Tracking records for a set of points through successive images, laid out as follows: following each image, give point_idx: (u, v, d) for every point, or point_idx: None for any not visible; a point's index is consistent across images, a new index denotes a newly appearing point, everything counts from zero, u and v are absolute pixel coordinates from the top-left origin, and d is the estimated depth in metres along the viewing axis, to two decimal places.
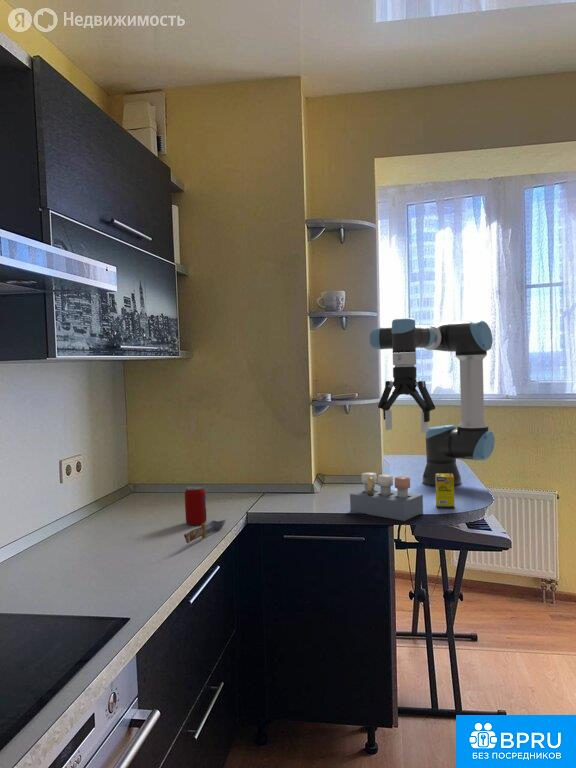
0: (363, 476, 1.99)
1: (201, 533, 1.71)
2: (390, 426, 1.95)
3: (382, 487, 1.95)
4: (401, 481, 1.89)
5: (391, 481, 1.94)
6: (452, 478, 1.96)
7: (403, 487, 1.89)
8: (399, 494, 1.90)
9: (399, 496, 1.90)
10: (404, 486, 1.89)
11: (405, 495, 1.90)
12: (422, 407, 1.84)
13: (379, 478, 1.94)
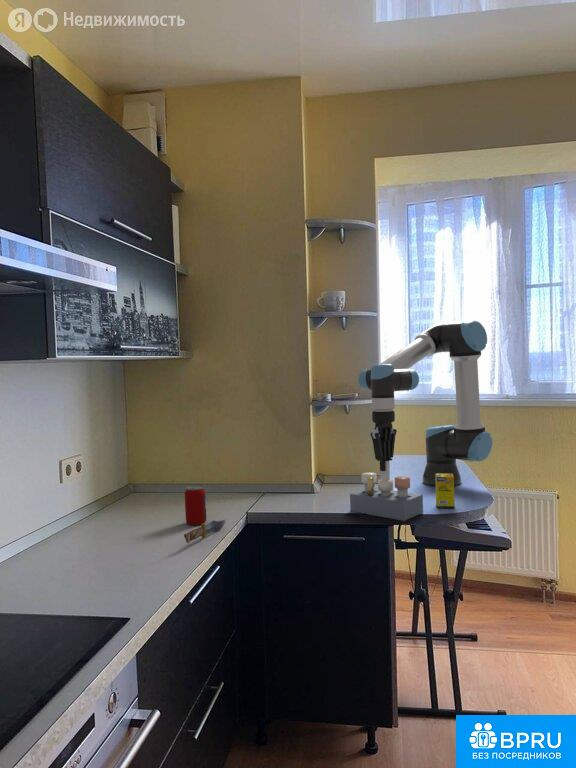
0: (363, 476, 1.99)
1: (201, 533, 1.71)
2: None
3: (382, 492, 1.95)
4: (401, 481, 1.89)
5: (391, 486, 1.94)
6: (452, 478, 1.96)
7: (403, 487, 1.89)
8: (399, 494, 1.90)
9: (399, 496, 1.90)
10: (404, 486, 1.89)
11: (405, 495, 1.90)
12: None
13: (379, 483, 1.95)
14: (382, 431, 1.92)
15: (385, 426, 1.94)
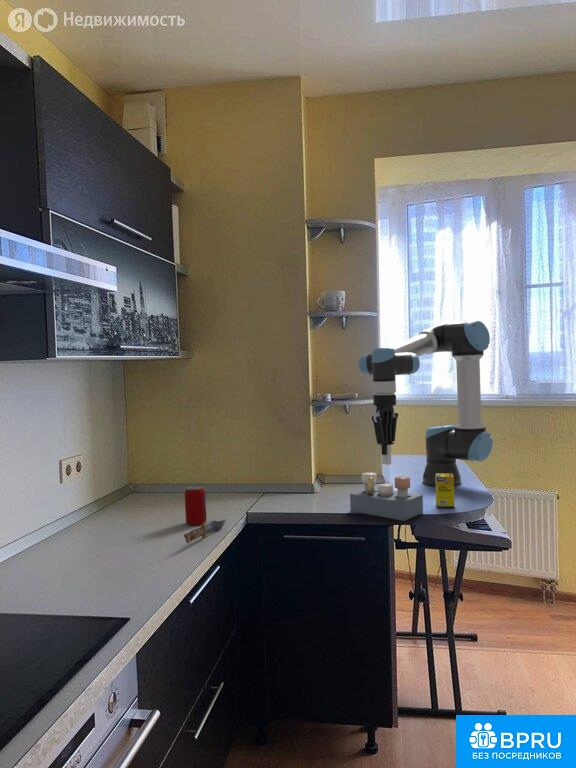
0: (363, 476, 1.99)
1: (201, 533, 1.71)
2: None
3: None
4: (401, 481, 1.89)
5: (391, 490, 1.94)
6: (452, 478, 1.96)
7: (403, 487, 1.89)
8: (399, 494, 1.90)
9: (399, 496, 1.90)
10: (404, 486, 1.89)
11: (405, 495, 1.90)
12: None
13: (379, 487, 1.95)
14: (383, 415, 1.91)
15: (386, 410, 1.93)
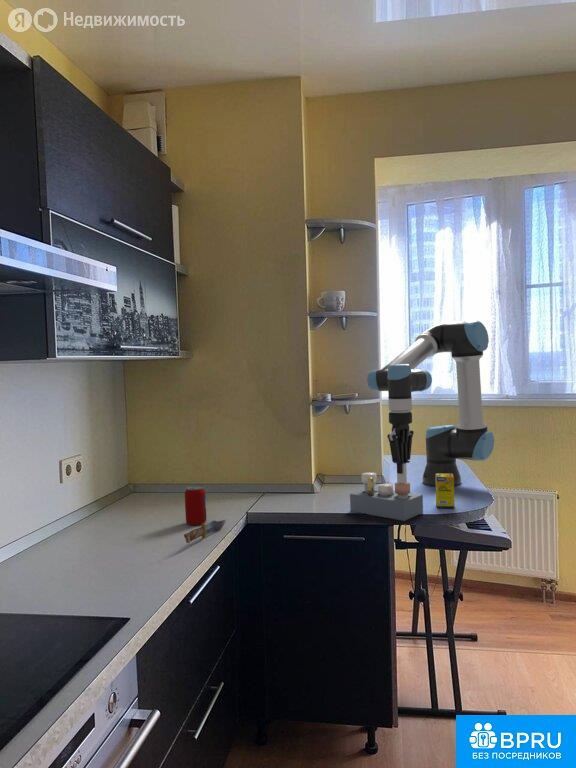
0: (363, 476, 1.99)
1: (201, 533, 1.71)
2: None
3: None
4: (401, 486, 1.89)
5: (391, 490, 1.94)
6: (452, 478, 1.96)
7: (403, 492, 1.89)
8: None
9: None
10: (404, 492, 1.89)
11: None
12: None
13: (379, 487, 1.95)
14: (399, 433, 1.88)
15: (402, 428, 1.89)
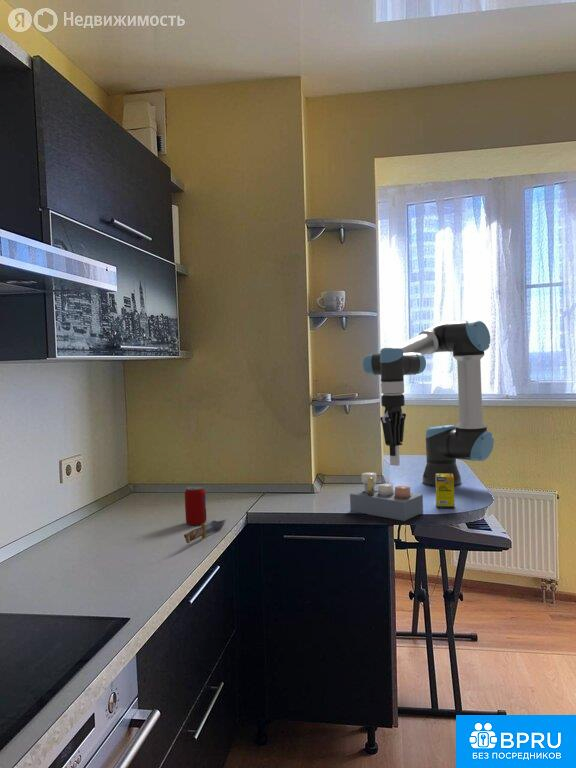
0: (363, 476, 1.99)
1: (201, 533, 1.71)
2: None
3: None
4: (401, 491, 1.89)
5: (391, 490, 1.94)
6: (452, 478, 1.96)
7: (403, 497, 1.89)
8: None
9: None
10: (404, 496, 1.89)
11: None
12: None
13: (379, 487, 1.95)
14: (392, 415, 1.89)
15: (395, 410, 1.91)
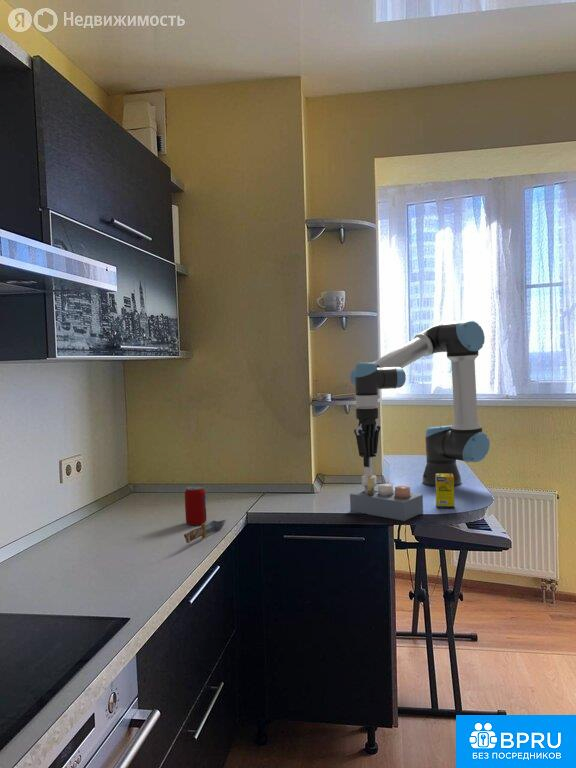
0: (363, 478, 1.99)
1: (201, 533, 1.71)
2: None
3: None
4: (401, 491, 1.89)
5: (391, 490, 1.94)
6: (452, 478, 1.96)
7: (403, 497, 1.89)
8: None
9: None
10: (404, 496, 1.89)
11: None
12: None
13: (379, 487, 1.95)
14: (366, 428, 1.97)
15: (369, 423, 1.98)
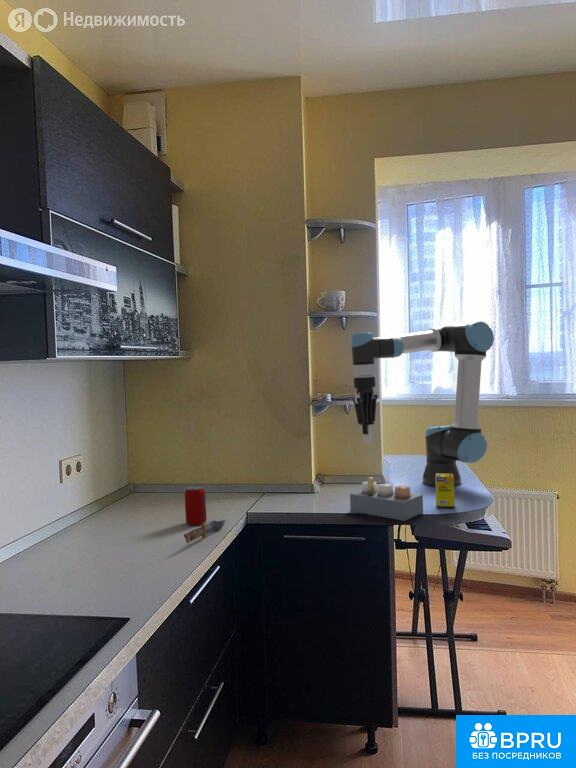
0: (363, 485, 1.99)
1: (201, 533, 1.71)
2: None
3: None
4: (401, 491, 1.89)
5: (391, 490, 1.94)
6: (452, 478, 1.96)
7: (403, 497, 1.89)
8: None
9: None
10: (404, 496, 1.89)
11: None
12: None
13: (379, 487, 1.95)
14: (364, 396, 2.02)
15: (366, 391, 2.03)
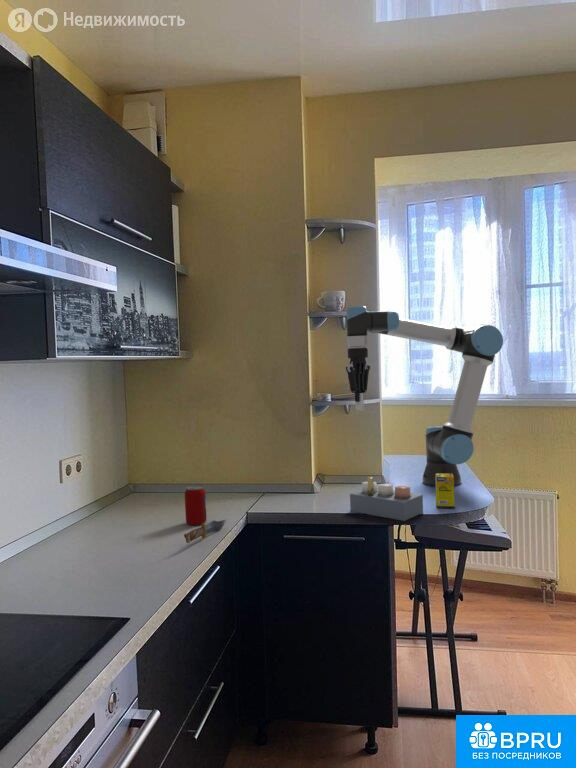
0: (363, 485, 1.99)
1: (201, 533, 1.71)
2: None
3: None
4: (401, 491, 1.89)
5: (391, 490, 1.94)
6: (452, 478, 1.96)
7: (403, 497, 1.89)
8: None
9: None
10: (404, 496, 1.89)
11: None
12: None
13: (379, 487, 1.95)
14: (356, 365, 2.16)
15: (359, 361, 2.17)
